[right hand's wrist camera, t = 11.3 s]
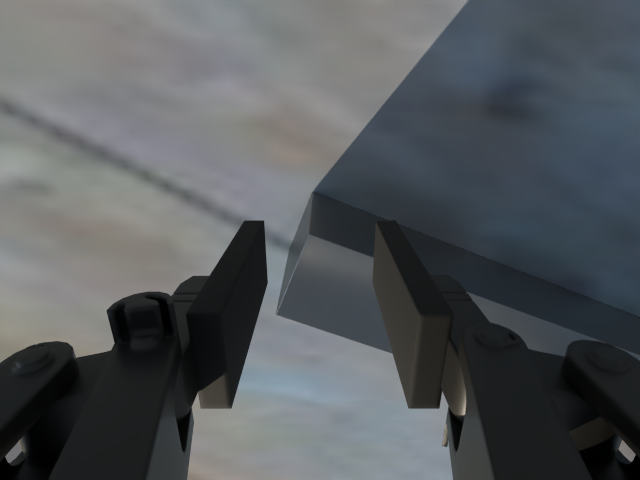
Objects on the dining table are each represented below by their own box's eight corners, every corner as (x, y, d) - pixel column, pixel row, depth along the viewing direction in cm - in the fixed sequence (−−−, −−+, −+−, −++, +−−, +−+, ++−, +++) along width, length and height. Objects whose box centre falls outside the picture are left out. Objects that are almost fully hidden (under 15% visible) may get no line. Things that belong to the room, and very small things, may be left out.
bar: (288, 251, 28) (275, 315, 20) (312, 191, 27) (308, 233, 18) (651, 381, 33) (764, 477, 25) (692, 337, 31) (829, 425, 23)
